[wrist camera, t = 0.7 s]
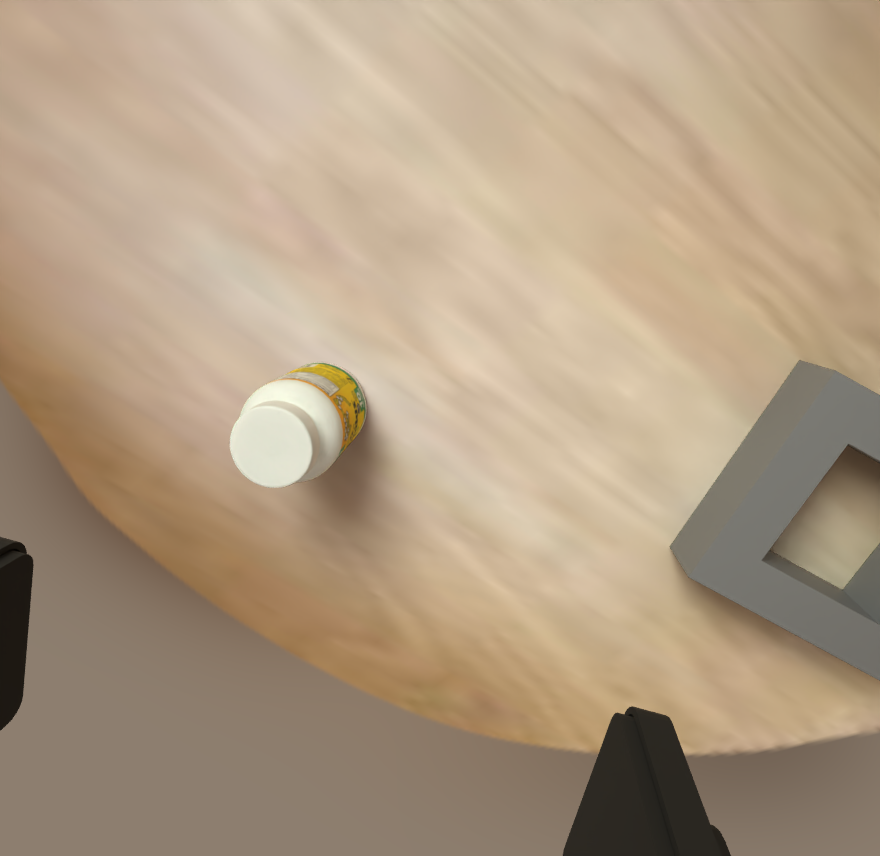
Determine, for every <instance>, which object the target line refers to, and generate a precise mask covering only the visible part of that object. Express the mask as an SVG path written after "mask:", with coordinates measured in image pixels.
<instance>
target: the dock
mask: <svg viewBox="0 0 880 856" xmlns="http://www.w3.org/2000/svg"><path fill="white" fill-rule="evenodd" d="M847 445H848V446H850V447H852V448H853V449H855V450H857V451H859V452H861V453H862V454H864V455H866V456H868V457H870V458H871V459H873V460H875V461H877V462H879V463H880V395H878V394H876V393H875V392H873V391H871V390H869V389H868V388H866V387H864V386H862V385H860V384H859V383H857V382H855V381H853V380H851V379H850V378H848V377H846V376H844V375H842V374H841V373H839V372H837V371H835V370H831V369H828V368H825V367H821V366H818V365H814V364H811V363H808V362H804V361H801V360H799V362H798V363H797V365H796V366H795V367H794V369H793V370H792V372H791V373H790V375H789V376H788V378H787V379H786V380H785V382H784V383H783V385H782V386H781V388H780V389H779V390H778V392H777V393H776V395H775V396H774V398H773V399H772V401H771V402H770V403H769V405H768V406H767V408H766V409H765V411H764V412H763V413H762V415H761V416H760V418H759V419H758V421H757V422H756V424H755V425H754V426H753V428H752V429H751V431H750V432H749V434H748V435H747V436H746V438H745V439H744V441H743V442H742V444H741V445H740V447H739V448H738V449H737V451H736V452H735V454H734V455H733V457H732V458H731V459H730V461H729V462H728V464H727V465H726V467H725V468H724V470H723V471H722V472H721V474H720V475H719V477H718V478H717V480H716V481H715V482H714V484H713V485H712V487H711V488H710V490H709V491H708V493H707V494H706V495H705V497H704V498H703V500H702V501H701V503H700V504H699V505H698V507H697V508H696V510H695V511H694V513H693V514H692V516H691V517H690V518H689V520H688V521H687V523H686V524H685V526H684V527H683V528H682V530H681V531H680V533H679V534H678V536H677V537H676V539H675V540H674V541H673V543H672V544H671V546H670V548H671V550H672V551H673V553H674V555H675V556H676V558H677V560H678V561H679V563H680V564H681V566H682V568H683V569H684V571H685V572H686V574H687V576H688V577H689V578H691V579H693V580H695V581H697V582H698V583H700V584H702V585H704V586H706V587H708V588H710V589H711V590H713V591H715V592H717V593H719V594H721V595H722V596H724V597H726V598H728V599H730V600H732V601H734V602H735V603H737V604H739V605H741V606H743V607H745V608H746V609H748V610H750V611H752V612H754V613H756V614H758V615H759V616H761V617H763V618H765V619H767V620H769V621H770V622H772V623H774V624H776V625H778V626H780V627H782V628H783V629H785V630H787V631H789V632H791V633H793V634H795V635H796V636H798V637H800V638H802V639H804V640H806V641H807V642H809V643H811V644H813V645H815V646H817V647H819V648H820V649H822V650H824V651H826V652H828V653H830V654H831V655H833V656H835V657H837V658H839V659H841V660H843V661H844V662H846V663H848V664H850V665H852V666H854V667H856V668H857V669H859V670H861V671H863V672H865V673H867V674H868V675H870V676H872V677H874V678H876V679H878V680H880V544H879V545H878V546H877V548H876V549H875V550H874V551H873V553H872V554H871V555H870V556H869V558H868V559H867V560H866V561H865V563H864V564H863V565H862V566H861V568H860V569H859V570H858V571H857V573H856V574H855V575H854V576H853V578H852V579H851V580H850V581H849V583H848V584H847V585H846V587H845V588H844V589H843V590H841V589H839V588H838V587H836V586H834V585H832V584H830V583H828V582H827V581H825V580H823V579H821V578H819V577H817V576H815V575H814V574H812V573H810V572H808V571H806V570H804V569H803V568H801V567H799V566H797V565H795V564H793V563H792V562H790V561H788V560H786V559H784V558H782V557H781V556H779V555H777V554H775V553H773V552H771V551H770V548H771V547H772V546H773V544H774V543H775V542H776V540H777V539H778V538H779V536H780V535H781V533H782V532H783V531H784V529H785V528H786V527H787V525H788V524H789V523H790V521H791V520H792V519H793V517H794V516H795V515H796V513H797V512H798V511H799V509H800V508H801V507H802V505H803V504H804V503H805V501H806V500H807V499H808V497H809V496H810V495H811V493H812V492H813V491H814V489H815V488H816V486H817V485H818V484H819V482H820V481H821V480H822V478H823V477H824V476H825V474H826V473H827V472H828V470H829V469H830V468H831V466H832V465H833V464H834V462H835V461H836V460H837V458H838V457H839V456H840V454H841V453H842V452H843V450H844V449H845V448H846V446H847Z"/></svg>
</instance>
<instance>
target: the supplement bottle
mask: <svg viewBox="0 0 880 856" xmlns="http://www.w3.org/2000/svg"><path fill="white" fill-rule="evenodd" d="M366 414H367V406H366V400H365V396H364V393H363V390H362V388H361V386H360V384H359V382H358V381H357V379H356V378H355V377H354V376H353V375H352V374H351V373H350V372H348V371H347V370H346V369H344V368H342V367H340V366H337V365H335V364H331V363H325V362H316V363H310V364H307V365H304V366H302V367H299V368H297V369H295V370H293V371H291V372H289V373H287V374H285V375H283V376H281V377H279V378H277V379H275V380H274V381H271V382H270V383H268V384H266V385H264V386H262V387H261V388H259V389H258V390H257V391H255V392H254V393H253V394H252V395H251V396H250V397H249V399H248V400H247V402H246V403H245V405H244V407H243V409H242V411H241V414H240V418H239V419H238V420H237V422H236V423H235V425H234V427H233V429H232V432H231V436H230V450H231V455H232V458H233V460H234V462H235V464H236V466H237V468H238V469H239V470H240V471H241V473H242V474H243V475H244V476H246V478H248V479H249V480H251V481H252V482H254V483H256V484H258V485H261V486H264V487H268V488H281V487H286V486H289V485H292V484H294V483H298V482H305V481H308V480H311V479H314V478H316V477H318V476H320V475H321V474H323V473H324V472H325V471H326V470H327V469H329V468H330V467H331V465H332V464H333V463H334V462H335V461H336V460H337V458H338V457H339V456H340V455H341V454H342V452H343V451H344V450H345V449H346V448H347V447H348V445H349V444H350V443H351V442H352V441H353V440H354V438H355V437H356V436H357V435H358V434H359V432H360V431H361V429H362V427H363V425H364V422H365V418H366Z"/></svg>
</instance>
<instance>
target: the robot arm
mask: <svg viewBox="0 0 880 856" xmlns="http://www.w3.org/2000/svg"><path fill="white" fill-rule="evenodd" d="M32 575H33V559H32V557H31V556H30V555H28V554H27V552H26V548H25V546H24V545H23V544H22V543H20V542H17V541H13V540H9V539H6V538H2V537H0V730H2V729H3V728H4V727H5V726H6V725H7V724H8V723H9V722H10V721H11V720H12V719H13V717H14V716H15V714H16V713H17V711H18V709H19V707H20V704H21V702H22V697H23V688H24V675H25V663H26V650H27V638H28V626H29V625H28V624H29V613H30V601H31V587H32ZM563 856H731V855H730V852H729V850H728V847H727V845H726V842H725V840H724V838H723V837H722V834H721V833H720V831H719V830H718V829H717V828H716V827H715V826H713V825H710V823H709V820H708V817H707V815H706V812H705V809H704V807H703V804H702V801H701V799H700V796H699V793H698V791H697V788H696V785H695V783H694V780H693V777H692V774H691V772H690V769H689V766H688V764H687V761H686V759H685V756H684V753H683V750H682V748H681V745H680V742H679V740H678V737H677V734H676V732H675V729H674V726H673V724H672V721H671V720H670V718H669V717H668V716H666V715H662V714H658V713H655V712H651V711H647V710H644V709H640V708H636V707H629V708H628V709H627V711H626V712H625V714H620V713H615V714H614V716H613V717H612V719H611V722H610V724H609V727H608V730H607V733H606V735H605V738H604V741H603V744H602V746H601V749H600V752H599V754H598V757H597V760H596V763H595V765H594V768H593V771H592V774H591V776H590V779H589V782H588V785H587V787H586V790H585V793H584V796H583V798H582V801H581V804H580V806H579V809H578V812H577V815H576V817H575V820H574V823H573V825H572V828H571V831H570V834H569V837H568V839H567V842H566V845H565V848H564V852H563Z"/></svg>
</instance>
